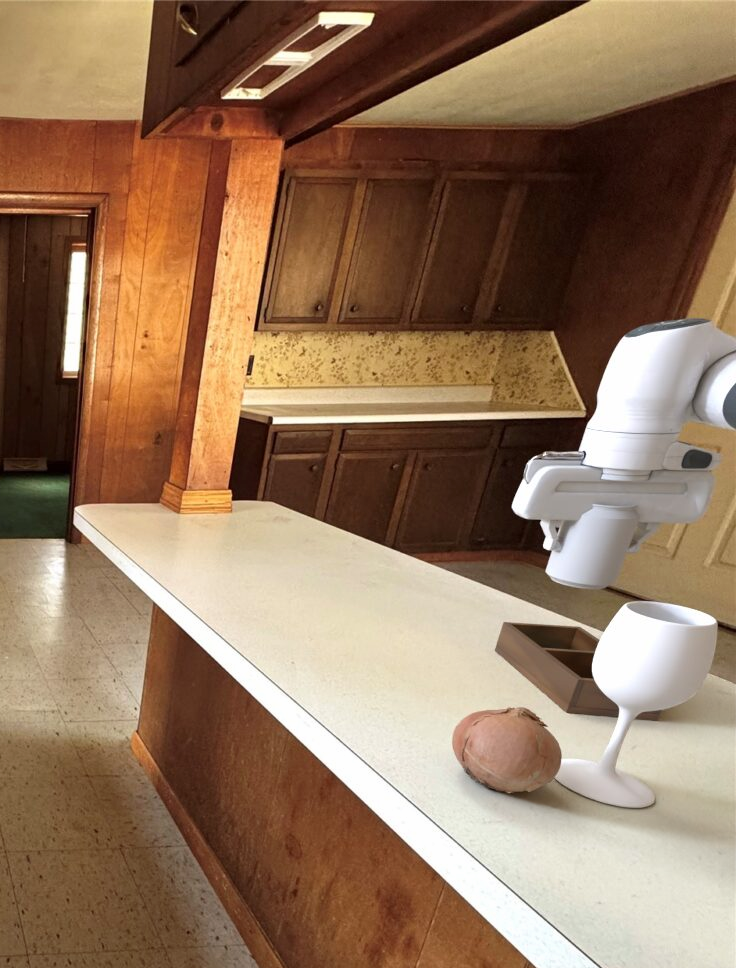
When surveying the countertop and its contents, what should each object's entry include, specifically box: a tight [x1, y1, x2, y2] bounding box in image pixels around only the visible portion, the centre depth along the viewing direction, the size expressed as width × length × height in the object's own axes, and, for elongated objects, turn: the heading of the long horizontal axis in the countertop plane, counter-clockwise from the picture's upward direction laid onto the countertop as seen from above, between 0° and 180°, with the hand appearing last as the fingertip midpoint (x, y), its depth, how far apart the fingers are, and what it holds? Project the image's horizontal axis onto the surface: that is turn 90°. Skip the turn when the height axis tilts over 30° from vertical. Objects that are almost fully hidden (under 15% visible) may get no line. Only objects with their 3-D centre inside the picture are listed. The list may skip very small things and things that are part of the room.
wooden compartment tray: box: [494, 621, 663, 722], centre depth 94 cm, size 10×19×5 cm, turn 165°
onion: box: [451, 706, 563, 794], centre depth 74 cm, size 10×9×10 cm
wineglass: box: [553, 600, 718, 809], centre depth 71 cm, size 9×9×21 cm
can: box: [544, 504, 640, 590], centre depth 92 cm, size 8×8×12 cm
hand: (589, 550), depth 93 cm, fingers closed on can, 7 cm apart
